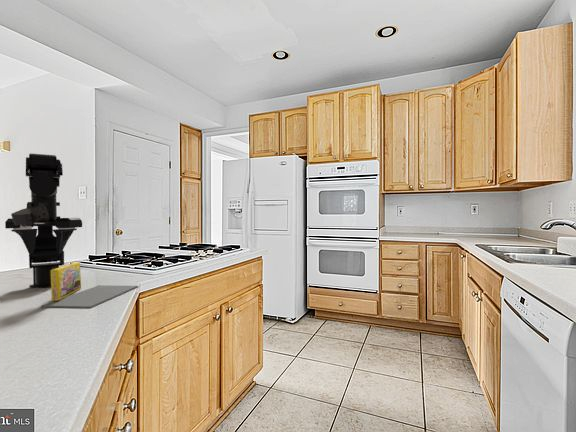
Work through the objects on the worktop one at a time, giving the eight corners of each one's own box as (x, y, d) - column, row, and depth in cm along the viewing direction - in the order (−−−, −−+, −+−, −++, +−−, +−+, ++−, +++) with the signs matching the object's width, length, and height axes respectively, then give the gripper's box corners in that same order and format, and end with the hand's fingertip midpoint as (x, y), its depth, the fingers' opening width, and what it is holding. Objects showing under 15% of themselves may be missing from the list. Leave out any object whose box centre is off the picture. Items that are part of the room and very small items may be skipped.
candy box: (60, 300, 85) (57, 269, 85) (51, 302, 85) (48, 270, 84) (82, 288, 101) (80, 261, 101) (74, 289, 100) (72, 262, 100)
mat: (41, 307, 82) (41, 305, 82) (98, 286, 104) (98, 285, 104) (90, 308, 81) (90, 306, 81) (138, 287, 103) (138, 285, 103)
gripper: (-15, 197, 85) (-14, 257, 85) (53, 197, 84) (54, 257, 84) (22, 199, 96) (23, 252, 97) (83, 198, 95) (84, 252, 95)
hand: (45, 253), depth 93 cm, fingers open, 8 cm apart
